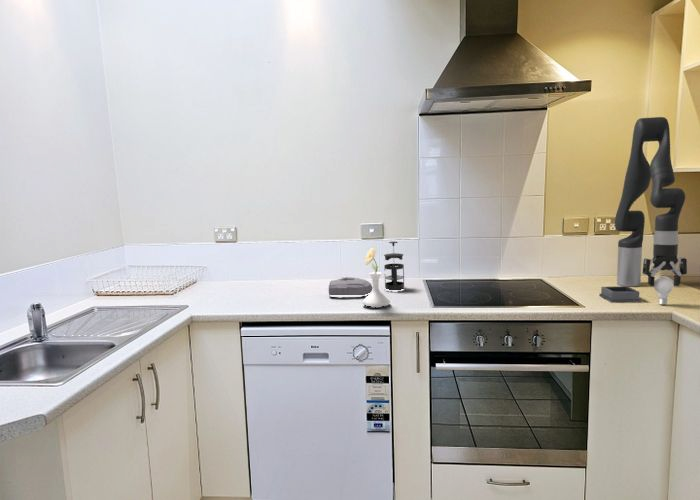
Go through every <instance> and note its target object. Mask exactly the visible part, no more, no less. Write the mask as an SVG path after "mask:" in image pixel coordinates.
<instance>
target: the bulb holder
mask: <svg viewBox="0 0 700 500" xmlns="http://www.w3.org/2000/svg"><path fill="white" fill-rule="evenodd" d="M600 287H601V292H600V293H599V295H598V296H599V297H601V298H602V299H604V300H605V301H607V302H609V303H611V304H612V303H613V304H614V303H615V304H616V303H642V299H641V298H640V291H639V290H636V289H634V288H632V287H631V286H622V285H618V286H600Z"/></svg>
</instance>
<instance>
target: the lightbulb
mask: <svg viewBox="0 0 700 500" xmlns="http://www.w3.org/2000/svg"><path fill="white" fill-rule="evenodd" d="M674 287H675V285H674V280H672V278H670V276H664V275H661V276H658V277H655V281H654V286H653V289H654V290H655V291H656V293H657V297H658V301H657V302H658V304H659V305H661V306H665V305H668V297H669V295H670V292H672V290H674Z"/></svg>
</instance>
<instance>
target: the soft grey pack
mask: <svg viewBox="0 0 700 500" xmlns="http://www.w3.org/2000/svg"><path fill="white" fill-rule="evenodd" d="M372 291H373V284H372V283H371V282H369V281H368V280H366V279H365V278H360V277H348V276H346V277H342V278H337V279H334V280H333V279H332V280H330V281H329V285H328V295H329V296H330V295H365V294H368V293H370V292H372Z"/></svg>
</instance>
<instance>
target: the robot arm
mask: <svg viewBox="0 0 700 500" xmlns="http://www.w3.org/2000/svg"><path fill="white" fill-rule="evenodd" d="M670 135H671V134H670V123H669V120H668V119H667V118H666V117H664V116H655V117H654V116H653V117H641V118H638V119H637V120H636V122H635V124H634V127H633V133H632V142H631V148H630V156H629V158H628V159H629V160H628V164H627V168H626V171H625V176H624V181H623V182H624V183H623V187H622V192H621V193H622V194H621V198H620V201H619V203H618V208H617V211H616V214H615V219H614V228H615V230H616V231H617V232H631V234H630V235H629V236H627V237H624V238H621V239H619V240H618V242H617V265H616V266H617V270H616V271H617V272H616V284H617V285H618V286H628V287H639V286H641V283H642V282H641V281H642V280H641V279H642V278H641V277H642V275H645V276H647V284H648V285H649V286H650V287H654V281H655V279H656V277H655V275H656V274H657V273H659V272H660V271H666V270H667V271H671V272H672V273H673V283H674V287H679V286H680V284H681V280H682V279H681V278H682V277H681V276H683V275H687V273H688V263H687V261H688V259H687V258H685V257H679V258H678V252H679V233H678V231H679V218H680V214H681V211H682V209H683V206H684V204H685V202H686V193H685V192H684V190H683V189H682V188H679V187H673V188H672V187H671V188H666V187H669V186H671V185H673V184H674V183H675V181H676V178H675V172H674V169H673V165H672V157H671V136H670ZM648 142H658V148H657V151H656V153H655V154H654V156H653V157H652V159H651V161H650V163H649V161H648V159H647V158H646V155H645V153H644V148H643V146H644V143H648ZM651 181H652V184H651ZM650 184H651V193H650V199H649V202H650V204H651V205H652V206H653V207H654V208H656V209H669V208H670V209H669V210H668V211H667V213H666V212H665V213H662V214H658V215H657V216H655V221H654V234H653V244H652V245H653V249H652V255H653V257H652V258H646V257H645V258H644V259H643V258H642V256H643V241H644V232H645V231H644V230H645V222H646V220H645V213H644V212H643V211H642V210H630V209H631V207H632V206H633V204H634V203H635V202H636V201H637V200H638V199H640V197H641V196H642V195H643V194H644V193H646V191H647V190H648V188H649V187H650ZM642 260H643V263H642ZM642 264H643V265H642ZM652 264H653V265H652ZM677 264H679V268H678V267H677ZM651 265H652V266H651ZM650 266H651V267H650Z"/></svg>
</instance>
